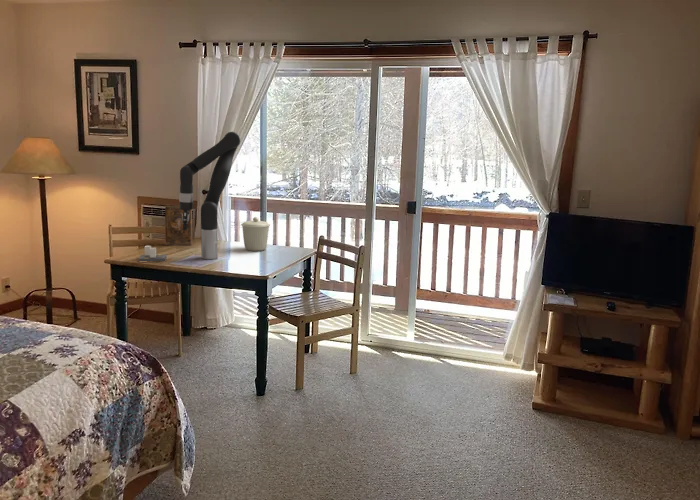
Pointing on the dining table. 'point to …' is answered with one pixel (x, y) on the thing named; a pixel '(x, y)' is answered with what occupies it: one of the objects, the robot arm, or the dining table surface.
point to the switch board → (158, 258)
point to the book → (177, 227)
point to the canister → (255, 234)
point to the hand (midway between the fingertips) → (185, 228)
